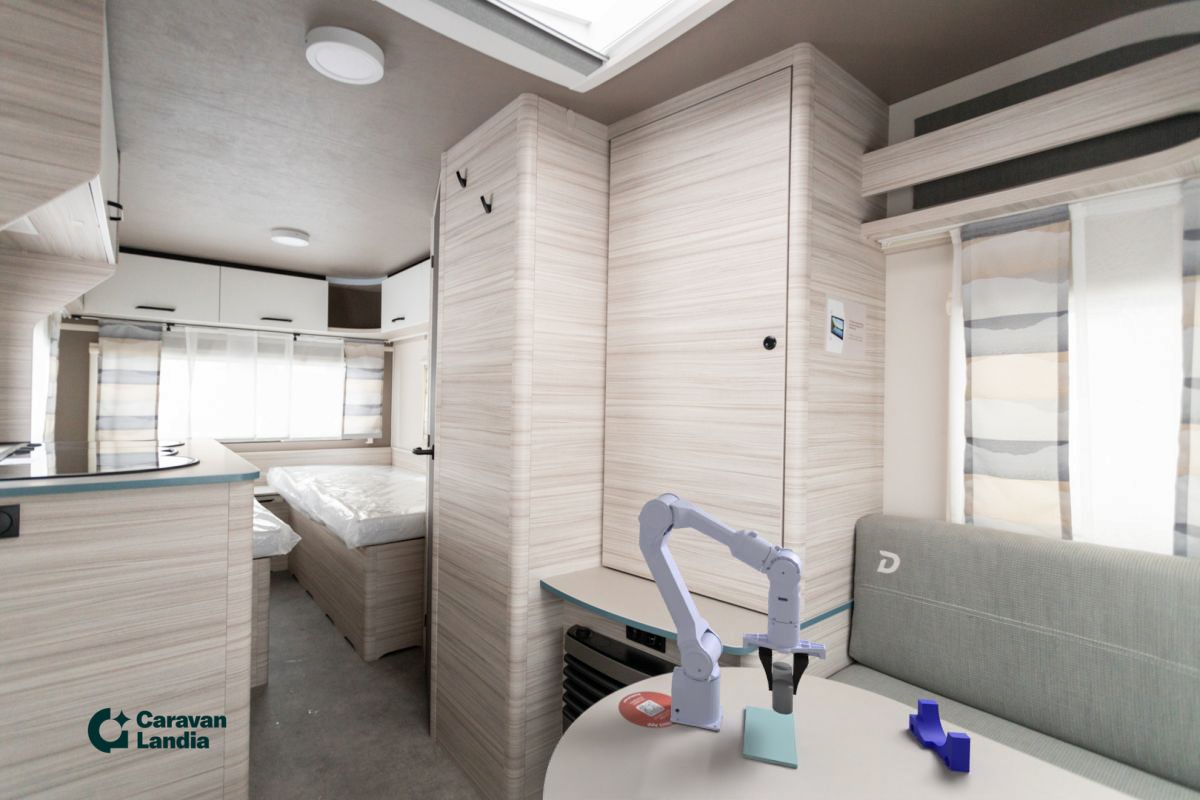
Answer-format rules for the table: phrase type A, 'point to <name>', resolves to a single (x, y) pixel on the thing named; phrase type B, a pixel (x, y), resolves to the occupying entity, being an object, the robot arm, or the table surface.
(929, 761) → the table surface
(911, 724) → the cable clip
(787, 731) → the rubber mat
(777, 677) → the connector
